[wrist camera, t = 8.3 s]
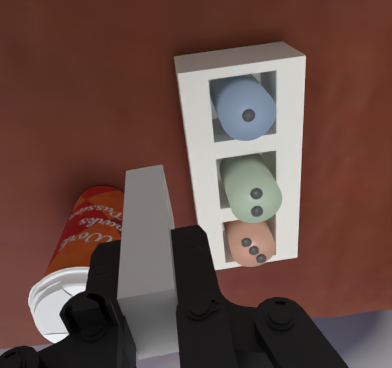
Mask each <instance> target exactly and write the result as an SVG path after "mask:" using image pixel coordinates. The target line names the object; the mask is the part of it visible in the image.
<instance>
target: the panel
mask: <svg viewBox="0 0 392 368" xmlns="http://www.w3.org/2000/svg"><path fill="white" fill-rule="evenodd" d="M174 62H175V69H176V76H177V83H178V91H179V98H180V105H181V112H182V119H183V126H184V134H185V141H186V148H187V155H188V162H189V169H190V177H191V184H192V191H193V198H194V205H195V212H196V220H197V225H199V226H200V227H201V228H202V229H203V230H204V231H205V232H206V233H207V237H208V242H209V246H210V250H211V255H212V259H213V264H214V268H215V270H219V269H226V268H232V267H238V266H242V265H240V264H238V263H237V262H235V260H234V259H233V257H232V254H231V250H230V247H229V243H228V239H227V235H226V232H225V228H224V224H223V222H227V221H234V220H239V219H237V218H236V217H235V216H234V214H233V213H232V210H231V207H230V204H229V201H228V198H227V195H226V191H225V188H224V185H223V182H222V179H221V176H220V171H219V168H220V163H221V161H222V159H223V158H227V157H234V156H241V155H248V154H255V153H259V154H260V155H261V156H262V158H263V160H264V161H265V163H266V165H267V167H268V169H269V170H270V172H271V174H272V176H273V178H274V179H275V181H276V183H277V185H278V187H279V188H280V190H281V193H282V203H281V206H280V208H279V210H278V211H277V212H276V213H275V214H274V215H273V216H272V217H271V218H269V219H267V220H266V223H267V225H268V227H269V230H270V232H271V234H272V236H273V239H274V241H275V244H276V249H275V252H274V254H273V256H272V257H271V258H270V259H269V260H268V261H267V262H271V261H277V260H283V259H290V258H296V257H297V250H298V227H299V204H300V181H301V158H302V135H303V112H304V89H305V66H306V55H304V54H302V53H301V52H299V51H298V50H296V49H294V48H293V47H291V46H289V45H288V44H286V43H284V42H283V41H281V42H274V43H267V44H260V45H253V46H245V47H238V48H231V49H224V50H217V51H210V52H202V53H195V54H188V55H181V56H174ZM247 74H252V75H253V76H254V77H255V78H256V80H257V81H258V82H259V83H260V84H261V85H262V86H263V88H264V89H265V90H266V91H267V92H268V93H269V94H270V96H271V97H272V98H273V100H274V102H275V106H276V116H275V120H274V123H273V125H272V126H271V128H270V129H269V130H268V131H267V132H266V133H265V134H264V135H263V136H261V137H259V138H257V139H254V140H250V141H240V140H236V139H234V138H232V137H230V136H229V135H228V134H227V133H226V132H225V130H224V129H223V127H222V124H221V122H220V120H219V117H218V115H217V113H216V110H215V108H214V106H213V103H212V101H211V97H210V90H211V85H212V83H213V81H214V79H218V78H225V77H232V76H239V75H247Z"/></svg>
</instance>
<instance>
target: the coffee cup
mask: <svg viewBox="0 0 392 368" xmlns="http://www.w3.org/2000/svg"><path fill="white" fill-rule="evenodd" d="M123 208H124V193H123V192H122V191H120V190H119V189H117V188H114V187H111V186H106V185H100V186H94V187H91V188H89V189H87V190H86V191H84V192H83V193H82V194H81V195H80V197H79V199H78V200H77V202H76V204H75V206H74V209H73V211H72V213H71V215H70V218H69V220H68V222H67V224H66V227H65V229H64V231H63V233H62V236H61V238H60V240H59V243H58V245H57V247H56V250H55V252H54V254H53V257H52V259H51V261H50V264H49V266H48V268H47V270H46V273H45V275H44V277H43V279H42V280H41V281H40V282H38V283H37V284H36V285H34V286H33V287H32V289H31V291H30V294H29V298H28V304H29V306H30V308H31V313H32V315H33V318H34V321H35V324H36V326H37V328H38V330H39V331H40V333H41V334H42V335H43V336H44V337H45V338H46V339H48V340H49V341H51V342H53V343H57V342H59V341H60V340H62V339H64V338H65V337H66V336H67V335H69V333H68V331H67V329H66V327H65V325H64V323H63V322H62V320H61V318H60V316H59V314H60V311H61V309H62V307H63V305H64V304H65V303H66V302H67V301H68V300H69V299H70V298H71V297H73V296H75V295H76V294H78V293H80V292H83V291H85V289H86V283H87V279H88V271H89V265H90V259H91V254H92V253H93V251H94V250H95V248H96V247H97V245H98V244H99V243H104V242H109V241H115V240H120V239H121V236H122V222H123Z"/></svg>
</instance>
